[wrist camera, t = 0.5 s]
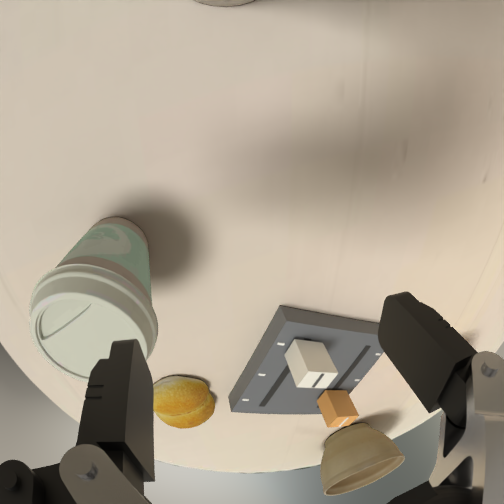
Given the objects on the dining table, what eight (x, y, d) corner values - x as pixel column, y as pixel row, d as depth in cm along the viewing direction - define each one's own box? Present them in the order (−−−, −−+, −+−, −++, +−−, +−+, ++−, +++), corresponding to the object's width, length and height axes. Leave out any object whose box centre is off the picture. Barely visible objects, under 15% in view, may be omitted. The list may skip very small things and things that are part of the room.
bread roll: (199, 366, 35) (202, 393, 32) (218, 405, 40) (223, 428, 36) (135, 379, 35) (134, 405, 31) (163, 415, 39) (163, 439, 36)
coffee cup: (159, 197, 25) (143, 279, 15) (168, 285, 29) (167, 388, 19) (64, 206, 23) (0, 286, 13) (83, 289, 27) (50, 387, 17)
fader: (294, 338, 31) (308, 372, 27) (322, 342, 33) (338, 373, 29) (284, 354, 32) (296, 388, 28) (312, 357, 34) (326, 389, 30)
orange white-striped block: (325, 390, 38) (338, 417, 34) (346, 390, 39) (359, 416, 35) (316, 401, 38) (327, 428, 35) (337, 400, 40) (349, 426, 36)
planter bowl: (291, 452, 52) (306, 498, 43) (353, 407, 48) (378, 457, 38) (340, 455, 59) (356, 493, 50) (395, 415, 55) (417, 455, 45)
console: (279, 305, 33) (286, 321, 30) (385, 324, 38) (395, 337, 36) (228, 396, 39) (231, 412, 37) (326, 401, 44) (331, 414, 42)
